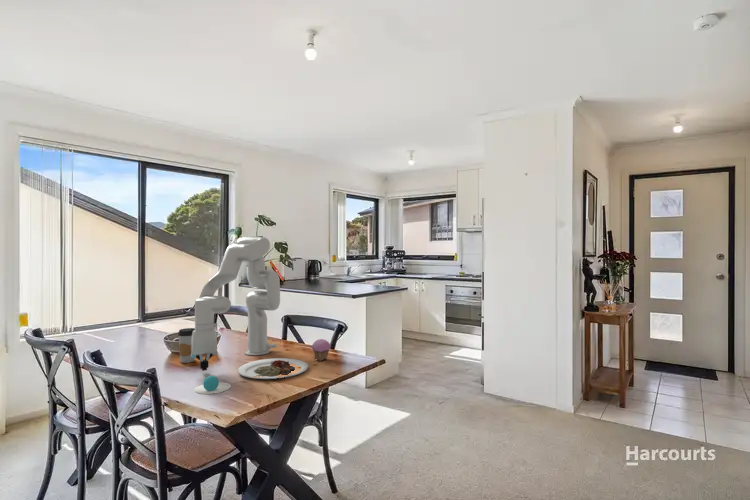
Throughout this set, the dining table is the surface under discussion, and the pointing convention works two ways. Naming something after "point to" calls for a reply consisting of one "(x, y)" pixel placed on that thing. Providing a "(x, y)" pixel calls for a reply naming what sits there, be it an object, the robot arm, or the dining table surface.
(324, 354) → the cupcake
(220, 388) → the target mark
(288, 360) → the plated food
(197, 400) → the dining table surface
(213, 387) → the ball
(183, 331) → the coffee cup
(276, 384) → the dining table surface
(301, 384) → the dining table surface
